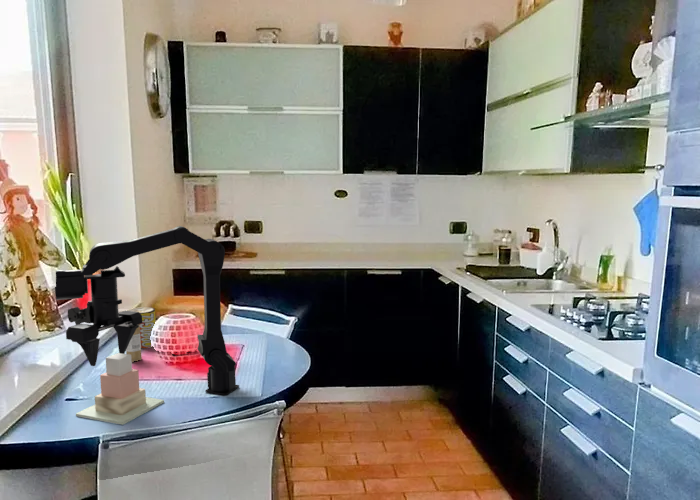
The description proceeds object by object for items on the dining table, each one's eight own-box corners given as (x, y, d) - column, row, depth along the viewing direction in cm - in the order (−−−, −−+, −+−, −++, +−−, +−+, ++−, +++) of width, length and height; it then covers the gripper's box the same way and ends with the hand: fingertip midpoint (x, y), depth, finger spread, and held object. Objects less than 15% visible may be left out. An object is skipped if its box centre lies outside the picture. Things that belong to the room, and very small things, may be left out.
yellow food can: (122, 348, 186) (120, 312, 185) (138, 340, 195) (136, 306, 193) (146, 349, 184) (144, 313, 183) (161, 342, 193) (160, 307, 191)
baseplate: (164, 402, 140) (164, 399, 140) (122, 424, 127) (122, 422, 127) (119, 394, 145) (119, 392, 145) (75, 416, 132) (75, 413, 132)
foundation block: (146, 402, 138) (145, 388, 138) (122, 415, 131) (121, 400, 130) (120, 398, 141) (119, 384, 141) (95, 410, 134) (94, 396, 133)
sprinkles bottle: (141, 357, 176) (138, 315, 175) (142, 361, 172) (140, 318, 171) (125, 359, 174) (123, 316, 173) (126, 363, 170) (124, 319, 169)
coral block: (139, 389, 137) (138, 369, 137) (121, 398, 132) (120, 378, 131) (119, 386, 139) (118, 367, 139) (101, 395, 134) (100, 375, 133)
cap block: (132, 370, 136) (131, 354, 136) (119, 376, 132) (118, 359, 132) (119, 368, 137) (118, 353, 137) (106, 374, 134) (105, 357, 133)
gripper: (107, 287, 145) (110, 346, 147) (45, 301, 128) (49, 368, 130) (142, 290, 141) (145, 350, 143) (83, 305, 124) (87, 373, 126)
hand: (107, 360), depth 135 cm, fingers open, 9 cm apart
